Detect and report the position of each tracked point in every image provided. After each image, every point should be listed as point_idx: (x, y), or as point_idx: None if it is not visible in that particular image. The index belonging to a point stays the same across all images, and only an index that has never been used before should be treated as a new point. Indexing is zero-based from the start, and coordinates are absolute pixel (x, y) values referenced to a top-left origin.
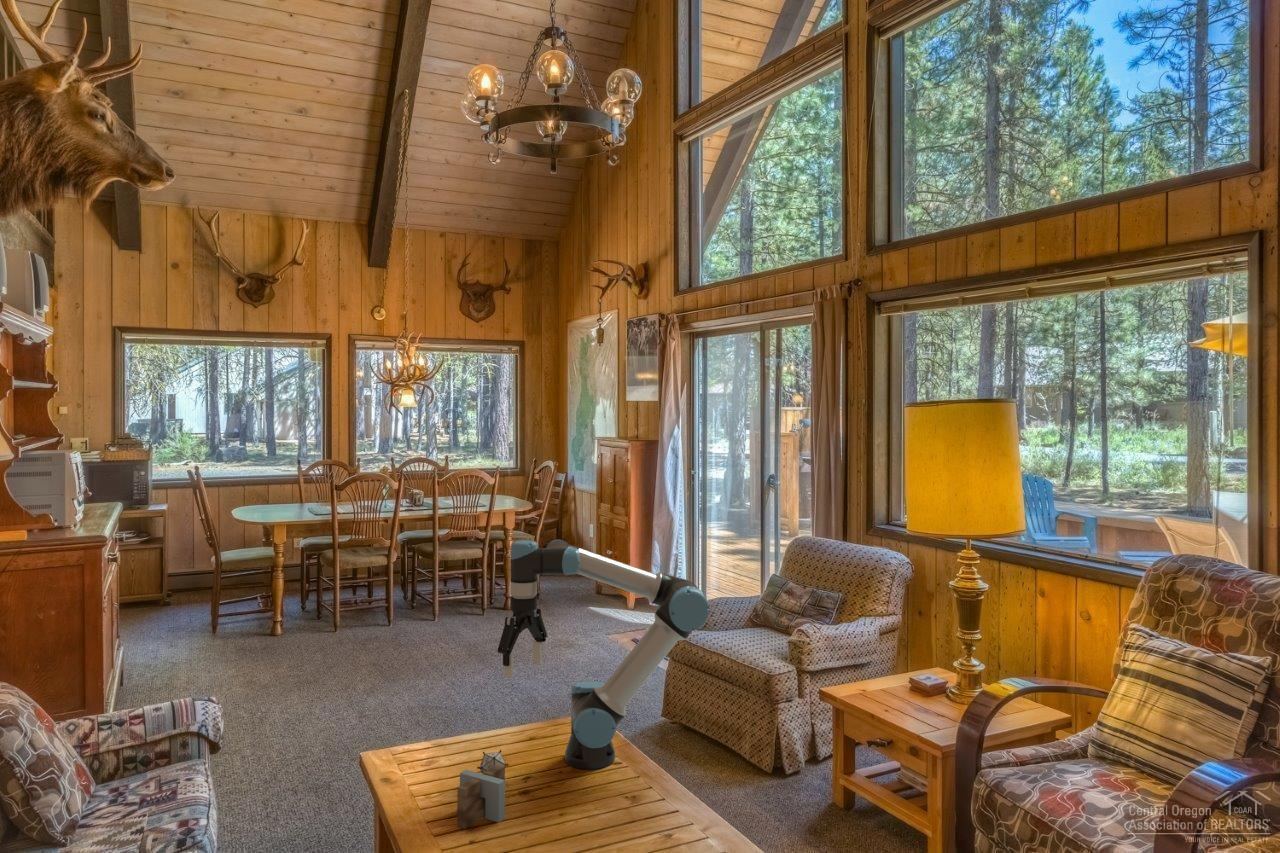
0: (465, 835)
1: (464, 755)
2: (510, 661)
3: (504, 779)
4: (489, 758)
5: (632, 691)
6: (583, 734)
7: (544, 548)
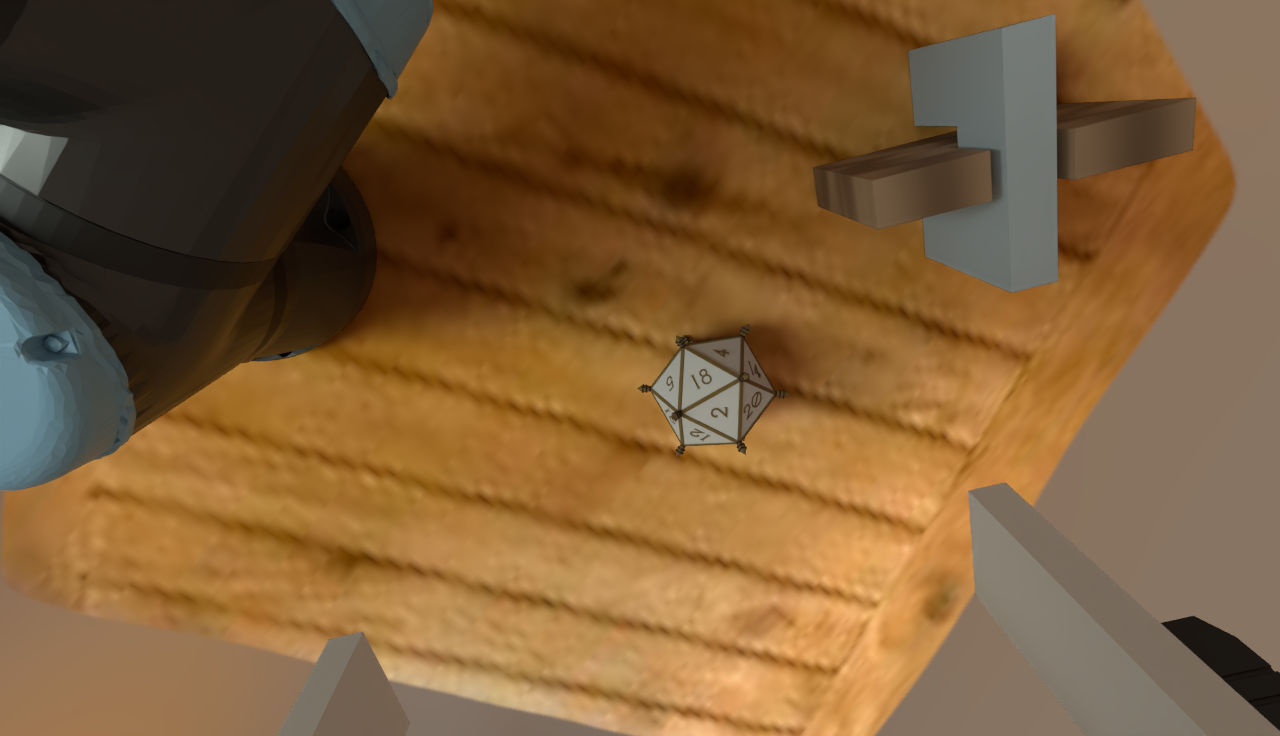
0: (1099, 55)
1: (640, 597)
2: (1198, 672)
3: (850, 174)
4: (746, 400)
5: None
6: None
7: None
